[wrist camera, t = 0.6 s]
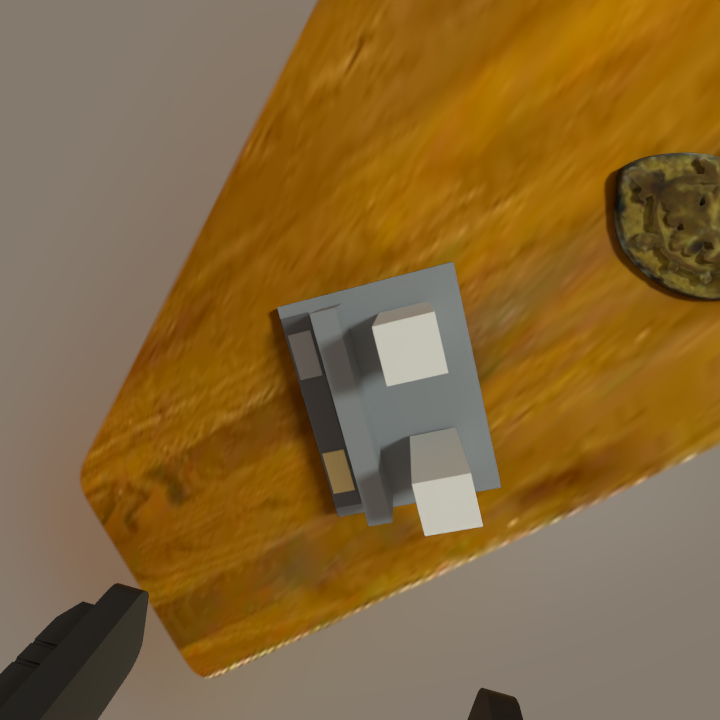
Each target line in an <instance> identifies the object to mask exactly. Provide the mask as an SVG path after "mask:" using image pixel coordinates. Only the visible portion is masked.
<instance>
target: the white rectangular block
mask: <svg viewBox="0 0 720 720" xmlns="http://www.w3.org/2000/svg"><path fill="white" fill-rule="evenodd" d="M372 330H373V334H374V338H375V342H376V346H377V349H378V353H379V357H380V361H381V365H382V369H383V373H384V377H385V381H386V385H387V387H388V386H392V385H397V384H401V383H406V382H410V381H415V380H419V379H424V378H428V377H433V376H437V375H442V374H446V373H448V369H447V364H446V360H445V355H444V351H443V346H442V342H441V337H440V333H439V329H438V324H437V320H436V315H435V311H434V310H433V309H432V307H431V306H430V304H429V303H428V302H427V301H426V302H422V303H418V304H414V305H410V306H406V307H402V308H398V309H394V310H390V311H386V312H382V313H379V314H378V316H377V318H376V320H375V322H374V324H373V325H372Z"/></svg>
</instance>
